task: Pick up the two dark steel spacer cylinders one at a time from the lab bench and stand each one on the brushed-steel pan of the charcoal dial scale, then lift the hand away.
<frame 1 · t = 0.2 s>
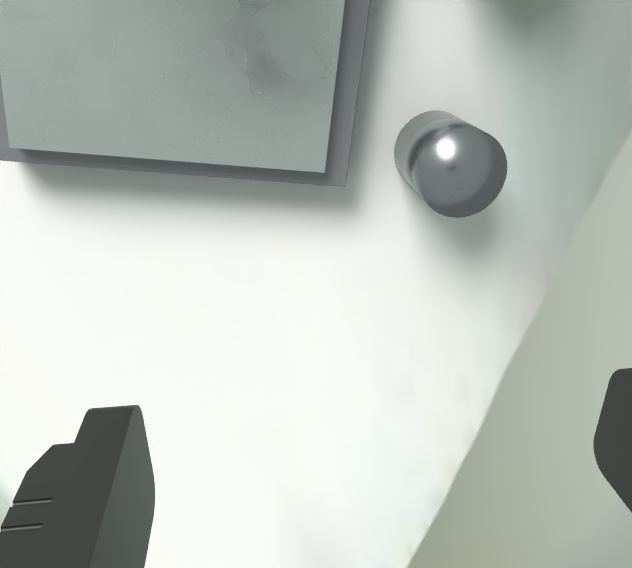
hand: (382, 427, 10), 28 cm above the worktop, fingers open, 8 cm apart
spacer a: (431, 150, 37), on the worktop
scale: (181, 20, 32), on the worktop
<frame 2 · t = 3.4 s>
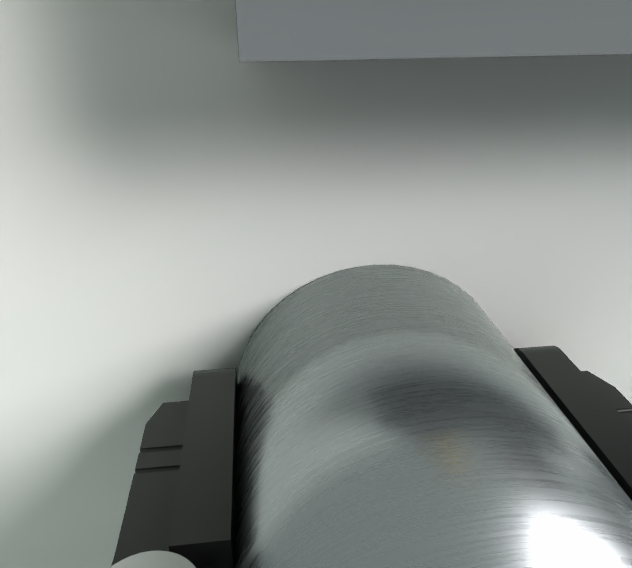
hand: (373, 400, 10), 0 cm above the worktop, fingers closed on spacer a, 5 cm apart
spacer a: (370, 385, 11), on the worktop, touching gripper
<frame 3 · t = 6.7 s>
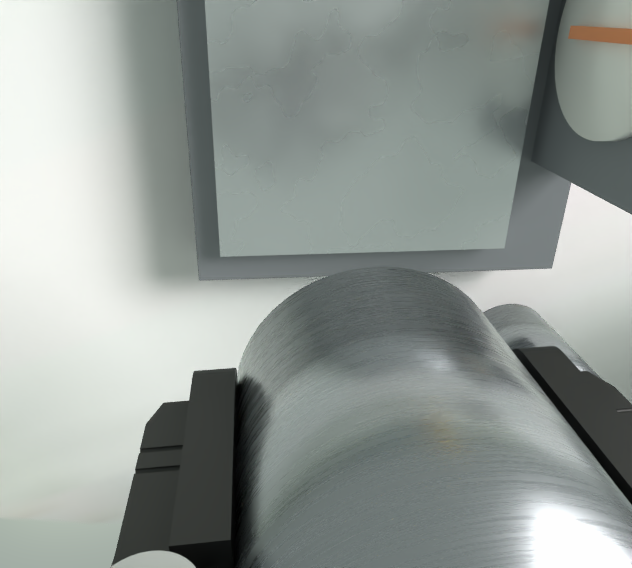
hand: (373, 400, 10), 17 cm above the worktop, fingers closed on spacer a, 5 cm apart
spacer a: (369, 386, 11), point 17 cm above the worktop, touching gripper
spacer b: (502, 343, 31), on the worktop
scale: (383, 24, 23), on the worktop
when the fingers open (6 cm above the worktop, at t = 10.0 s): spacer a drops 1 cm, resting on scale.
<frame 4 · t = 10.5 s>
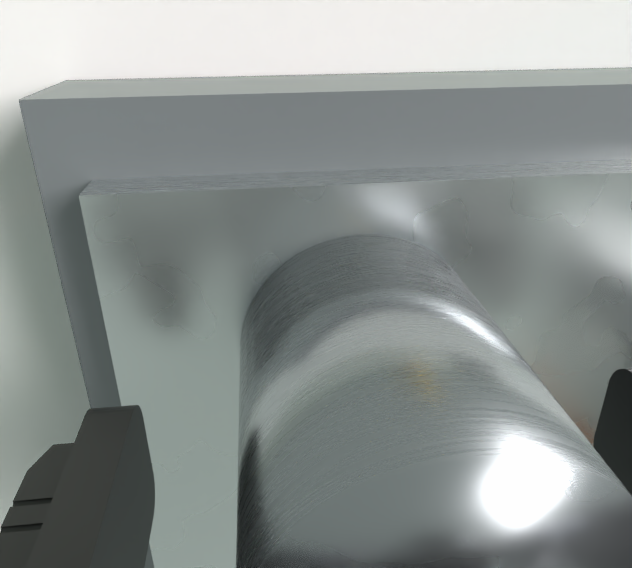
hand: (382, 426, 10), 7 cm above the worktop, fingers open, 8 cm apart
spacer a: (359, 344, 12), point 4 cm above the worktop, touching scale
scale: (392, 406, 18), on the worktop
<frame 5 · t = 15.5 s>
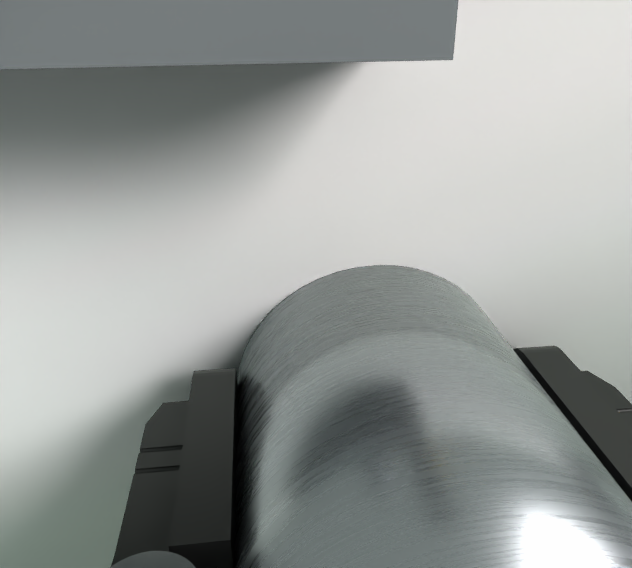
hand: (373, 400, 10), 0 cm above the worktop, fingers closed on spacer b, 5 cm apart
spacer b: (370, 385, 11), on the worktop, touching gripper
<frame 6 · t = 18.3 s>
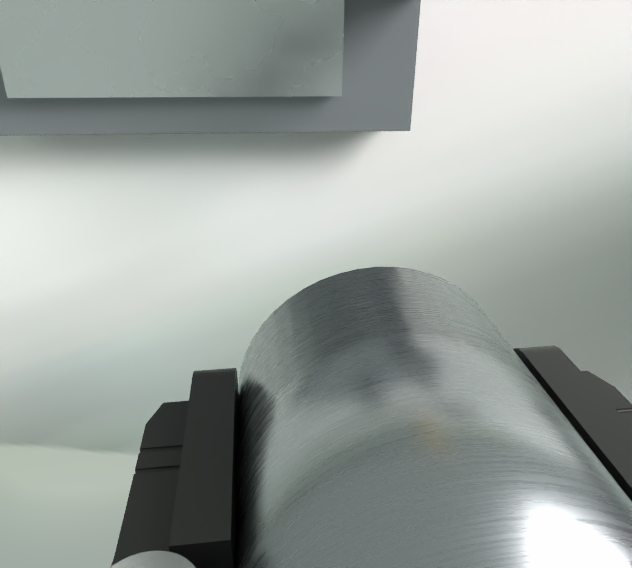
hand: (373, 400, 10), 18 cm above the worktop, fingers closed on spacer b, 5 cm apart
spacer b: (371, 386, 11), point 17 cm above the worktop, touching gripper
when the fingers open (6 cm above the worktop, at t = 21.5 s): spacer b drops 1 cm, resting on scale.
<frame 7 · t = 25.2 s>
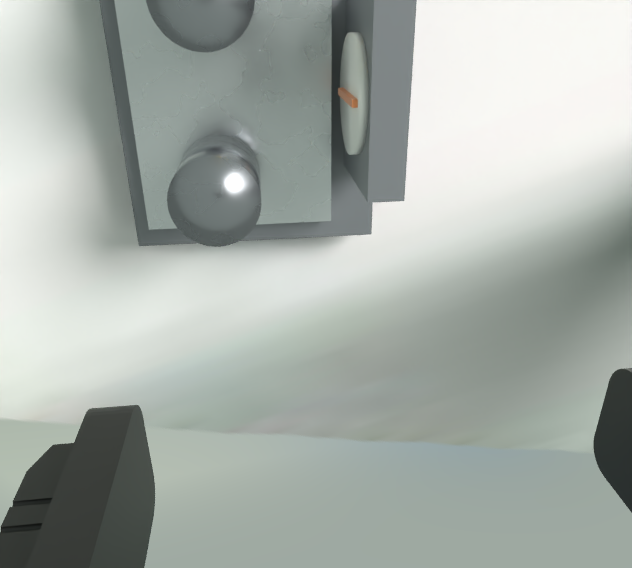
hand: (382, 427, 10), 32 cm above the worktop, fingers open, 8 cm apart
spacer b: (220, 174, 36), point 4 cm above the worktop, touching scale
scale: (248, 82, 37), on the worktop
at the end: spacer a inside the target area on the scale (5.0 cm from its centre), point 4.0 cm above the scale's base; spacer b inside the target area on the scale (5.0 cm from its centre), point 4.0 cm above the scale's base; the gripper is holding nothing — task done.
